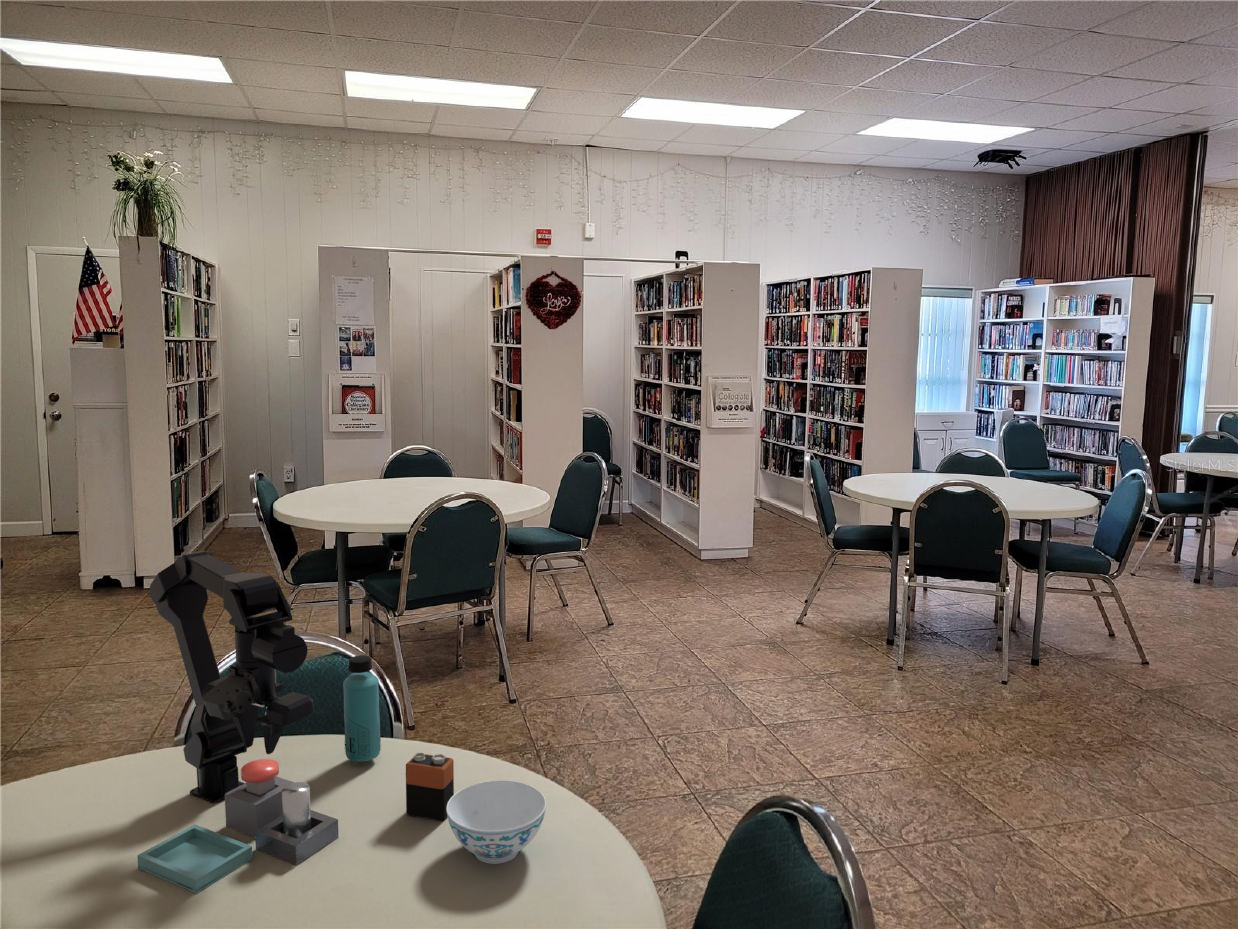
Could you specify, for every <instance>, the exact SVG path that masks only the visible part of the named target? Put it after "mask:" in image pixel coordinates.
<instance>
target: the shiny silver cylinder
mask: <svg viewBox="0 0 1238 929" xmlns="http://www.w3.org/2000/svg"><path fill="white" fill-rule="evenodd" d="M282 806H283V834H285V835H288V836H290V837H293V838H296V839H297V838H298V837H300V836H301V835H303V834H305V833H306V832H308V831H309V830H311V811H310V810H311V787H310V784H309V783H307V782H303V781H300V782H299V781H296V782H295V783H291V784H289V785H286V786H285V787H284V788H283V789H282Z"/></svg>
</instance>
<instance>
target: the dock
mask: <svg viewBox="0 0 1238 929" xmlns="http://www.w3.org/2000/svg"><path fill="white" fill-rule="evenodd" d="M244 783H245V784H243V785H241V786H239V787H237V788H235V789H233V790H231V791H229V792H227V793H226V794H225V798H224V807H225V809H224V810H225V827H227V828H229V829H232V830H235V831H236V832H240V833H242V834H245V835H247V836H251V837H254V838H255V831H256V830H258V829H259V828H261V827H263V826H264V825H266V824H268V823H270V822H271V821H273V820H275V819H276V818H278V817H280V816H281V815H283V806H282V789H283V788H284V787H285V786H286V785H289V784H291V783H296V782H294V781H291V780H290V779H289V780H288V779H286V778H282V777H280V776H278V775H277V776H276V777H275V788H274V789H272V790H270V791H268V792H266V793H264V794H263V795H261V796H259V795H256V794H253V793H250V792H247V790H246V782H244Z"/></svg>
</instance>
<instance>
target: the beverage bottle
mask: <svg viewBox="0 0 1238 929" xmlns="http://www.w3.org/2000/svg"><path fill="white" fill-rule="evenodd" d="M347 667H348V671H349V672H350V673H351V674H349V675H348V676H347V677H346V678H345V679H344V680H343V683H342V687H343V714H344V716H343V717H344V718H343V719H344V726H343V727H344V740H343V741H344V742H343V743H344V751H345V756H346V758H347V759H348V760H349V761H352V762H359V763H361V762H369V761H371V760H374V759H376V758H377V757H378V756H379V755H380V753H381V750H382V749H381V747H382V743H381V739H382V738H381V736H382V735H381V716H380V701H379V700H380V696H379V694H380V692H379V678H378V677H377V676H376V675H374V674H373V673H371V672H370V671H371V670H372V669H373V663H372V657H371V656H369V655H366V654H363V655H362V654H361V655H360V654H359V655H354V656H352V657H350V658H349V660H348V666H347Z"/></svg>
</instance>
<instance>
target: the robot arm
mask: <svg viewBox="0 0 1238 929" xmlns="http://www.w3.org/2000/svg"><path fill="white" fill-rule="evenodd" d="M208 591H210V592H211V593H214V594H215V595H216V596H219V597H220V598H221V599H222V600H223V602H222V603H223V604H222V605H223V607H222V608H223V609H224V610H225V611H227V612H228V614H229V615H230V619H229V620H228V624H229V625H230V626H233V627H234V643H235V663H232V664H230V665H229V668H228V674H227V675H225V676H223V677H221V674H220V669H219V667H218V663H217V660H216V656H215V653H214V650H213V649H214V648H213V645H212V642H211V639H210V634H209V631H208V629H207V624H206V621H205V617H204V613H205V611H206V607H207V604H208V601H209V594H208ZM149 596H150V599H151V601H152V602H153V603H155V607H156V610H157V612H158V614H159V616H161V617H162V618H163V619H164V620H165V621H167V622H168V623H169V624H171V625H172V626H173V629H174V633H175V637H176V640H177V643H178V648H179V650H180V654H181V658H182V662H183V665H184V669H185V672H186V675H187V679H188V682H189V686H190V689H191V692H192V693H191V694H192V697H193V700H194V704H195V710H194V714H193V717H192V720H191V723H190V732H191V737H190V738H189V740H188V741H187V742H186V744H185V746H184V747H183V754H184V759H185V762H186V763H187V764H190V765H191V766H192V767H194V768H196V780H197V781H196V782H197V786H196V787H194V788H192V789H190V790H189V795H192V796H194V797H196V798H200V799H202V800H206V801H208V802H210V803H218V802H219V801H221V800H223V799H224V800H225V794H226V793H227V792H229V791H231V790H233V789H235V788H237V787H239V786H241V785H243V784H245V783H246V782H244V781H243V782H242V781H240V779H239V778H240V777H239V766H238V757H237V755H240V754H244V753H246V752H247V751H248V749H249V748H250V747H252V746H253V744H254V740H255V737H256V736H255V735H256V729H257V723H259V724H260V725H261V726H262V730H263V731H262V732H263V742H264V749H265V753H266V755H270V754H272V753H274V752H275V749H276V747H277V746H278V743H279V740H280V738H281V736H282V733H283V731H284V730H285V727H286V726H288V725H290V724H292V723H294V722H297V721H299V720H301V719H303V718H305V717H307V716H309V715H311V714H314V699H313V698H312V697H310V696H309V695H305V694H302V693H298V692H294V691H292V692H289V693H287V694H285V695H282V696H280V697H279V696H276V695H277V693H279V692H281V691H283V684H282V683H280V682H277V672H276V671H279V672H281V673H283V674H287V673H292V672H294V671H297V670H298V669H299V668H300V667H301V666H302V665H303V664H304V662H305V661H306V659H307V655H308V644H307V643H306V641H305V639H304V638H303V637H302V636H300V635H298V634H296V632H295V627H294V626H293V625H290V624H288V625H287V624H285V623H286V622H290V621H293V615H292V613H291V610H292V607H291V605H290V604H289V602H288V600H287V597H286V596H285V594H284V593H283V590H282V587H281V584H280V583H279V582H278V581H277V580H276V578H275V577H273V575H270V574H266V573H261V572H243V571H242V570H239V569H237V568H235V567H234V566H232V565H230V564H228V563H226V562H225V561H223V560H221V559H219V558H216V557H215V556H214V555H213V553H212V552H211V551H206V550H201V551H195V552H189V553H184V554H183V553H182V554H181V555H180V556H178V557H176V559H175V561H174V563H171V564H170V565H168V566H167V567H165V568H164V569H163V570H160V571H159V572H158V573H157V574H156V575H155V577H154V578H153V580H152V581H151V583H150V585H149ZM272 611H273V612H272ZM269 612H271V613H269ZM265 613H266V614H265ZM260 614H262V615H260ZM260 707H261V708H265V712H264V713H265V714H264V715H262V716H260V717H258V716H259V715H258V714H259V709H260Z"/></svg>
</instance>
